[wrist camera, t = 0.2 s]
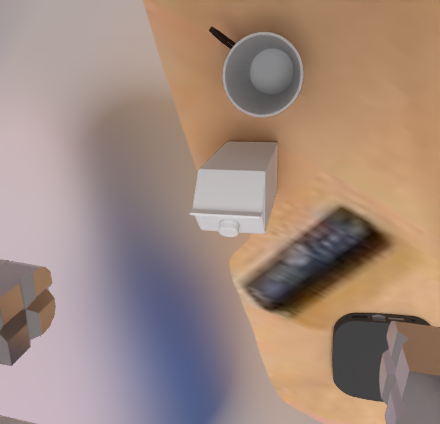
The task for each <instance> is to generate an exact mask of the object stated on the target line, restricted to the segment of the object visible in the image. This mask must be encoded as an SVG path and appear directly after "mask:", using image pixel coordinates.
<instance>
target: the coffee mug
mask: <svg viewBox="0 0 440 424" xmlns="http://www.w3.org/2000/svg"><path fill="white" fill-rule="evenodd" d="M209 31H210V32H211V33H212V34H213V35H214V36H215V37H216V38H217V39H218V40H219V41H220V42H222V43H223V44H225V45H226V46H227V47H229V48H230V49H231V50H230V52H229V53H228V55H227V57H226V60H225V62H224V66H223V73H222V75H223V85H224V89H225V92H226V94H227V96H228V98H229V99H230V101H231V103H232V104H233V105H234V106H235V107H236V108H237V109H239V110H240V111H242V112H243V113H245V114H248V115H250V116H254V117H270V116H274V115H276V114H279V113H281V112H282V111H284V110H285V109H287V108H288V107H289V106H290V105H291V104H292V103H293V102H294V100H295V99H296V98H297V96H298V94H299V92H300V90H301V87H302V83H303V72H304V71H303V64H302V60H301V58H300V55H299V53H298V51H297V50H296V48H295V47H294V46H293V45H292V44H291V42H290V41H288V40H287V39H285V38H284V37H283V36H280V35H278V34H275V33H271V32H257V33H253V34H250V35H248V36H246V37H244V38H242V39H241V40H240V41H238V42H237V43H235V42H233V41H232V40H231V39H229V38H228V37H227V36H225V35H224V34H222V33H221V32H220V31H218V30H217V29H215V28H213V27H211V28H210V29H209ZM228 42H229V43H230V44H229V43H228ZM232 45H233V46H232Z"/></svg>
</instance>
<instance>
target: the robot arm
mask: <svg viewBox="0 0 440 424" xmlns="http://www.w3.org/2000/svg"><path fill="white" fill-rule="evenodd" d="M51 284H52V278H51V273H50V271H49V270H48V269H47V268H45V267H42V266H36V265H31V264H25V263H19V262H13V261H8V260H1V259H0V364H4V365H10V366H12V365H13V364H14V363H15V362H16V361H17V360H18V359H19V358H20V357H21V356H22V355H23V354H24V353H25V352H26V351H27V350H28V349H29V348H30V343H31V341H30V340H31V339H33V338H36V337H38V336H41V335H42V334H43V333H44V332H45V331H46V330H47V329H48V328H49V327H50V325H51V322H52V320H53V318H54V315H55V299H54V297H53V296H52V294H51V293H50V292H49V290H48V288H49V287H50V286H51ZM386 337H387V341H388V346H389V349H388V350H387V351H385V352H384V353H383V354H382V359H381V364H380V375H379V384H380V393H381V399H382V400H383V401H384V402H385V403H386V404H387V408H386V413H385V421H386V424H440V327H434V326H427V325H419V324H412V323H404V322H397V321H391V323H390V325H389V328H388V332H387V336H386ZM0 424H35V423H31V422H27V421H22V420H18V419H14V418H9V417H5V416H1V415H0Z"/></svg>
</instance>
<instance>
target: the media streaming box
mask: <svg viewBox="0 0 440 424" xmlns="http://www.w3.org/2000/svg"><path fill="white" fill-rule="evenodd" d="M391 321H397V322H404V323H412V324H419V325H427V326H430V325H429V324H428V323H427V322H426V321H425V320H423V319H421V318H418V317H414V316H404V315H393V314H376V313H351V314H348V315H345V316H343V317H342V318H340V319H339V320H338V321H337V323H336V324H335V326H334V334H333V380H334V383H335V384H336V386H337V387H338V388H339V389H340V390H341V391H343V392H344V393H346V394H348V395H350V396H353V397H357V398H362V399H367V400H373V401H381V402H384V401H383V400H382V399H381V393H380V384H379V375H380V364H381V359H382V354H383V353H384V352H385V351H387V350H388V349H389V346H388V341H387V337H386V336H387V332H388V328H389V325H390V323H391Z"/></svg>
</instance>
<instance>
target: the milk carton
mask: <svg viewBox="0 0 440 424" xmlns="http://www.w3.org/2000/svg"><path fill="white" fill-rule="evenodd" d="M277 169H278V143H277V142H226V143H225V144H224V145H223V146H222V147H221V148H220V149H219V150H218V151H217V152H216V153H215V154H214V155H213V156H212V157H211V158H210V159H209V160H208V161H207V162H206V163H205V164H204V165H203V166H202V167H201V168H200V169H199V170H198V176H197V183H196V190H195V196H194V203H193V209H192V211H191V212H190V215H195V217H196V219H197V221H198V224H199V225H200V228H201V229H202V230H210V231H218V232H219V233H220V234H221V235H223V236H227V237H235V236H237V235H238V233H239V232H242V233H258V234H265V231H266V227H267V224H268V221H269V217H270V214H271V210H272V207H273V204H274V200H275V197H276V193H277Z"/></svg>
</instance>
